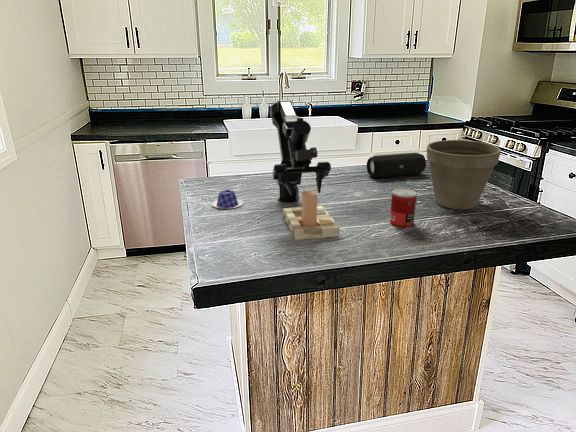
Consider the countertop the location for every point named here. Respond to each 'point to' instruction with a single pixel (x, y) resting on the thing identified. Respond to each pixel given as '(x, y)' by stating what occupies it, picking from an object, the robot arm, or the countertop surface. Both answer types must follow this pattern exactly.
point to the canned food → (403, 207)
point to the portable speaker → (396, 165)
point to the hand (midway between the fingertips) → (305, 193)
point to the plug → (309, 209)
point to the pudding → (227, 200)
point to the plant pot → (460, 171)
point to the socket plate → (322, 230)
